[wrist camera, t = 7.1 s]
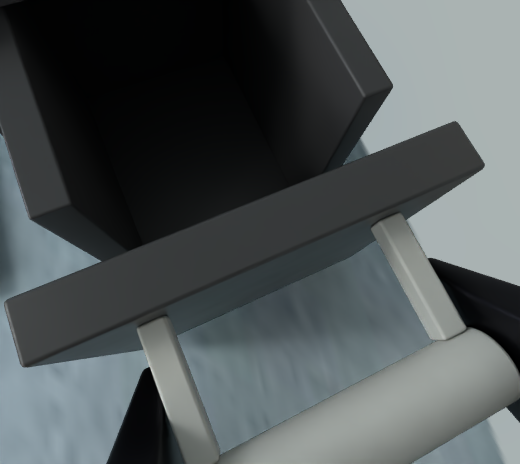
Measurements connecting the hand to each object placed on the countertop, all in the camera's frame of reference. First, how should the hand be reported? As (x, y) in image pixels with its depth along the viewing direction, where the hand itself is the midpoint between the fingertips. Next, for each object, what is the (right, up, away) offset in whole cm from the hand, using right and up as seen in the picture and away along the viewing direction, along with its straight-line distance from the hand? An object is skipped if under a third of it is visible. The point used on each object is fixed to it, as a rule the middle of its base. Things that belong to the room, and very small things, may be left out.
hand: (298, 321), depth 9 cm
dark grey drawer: (-3, +2, +7) cm, 8 cm away
